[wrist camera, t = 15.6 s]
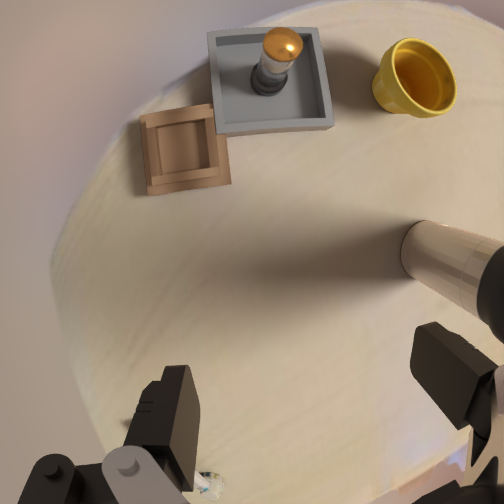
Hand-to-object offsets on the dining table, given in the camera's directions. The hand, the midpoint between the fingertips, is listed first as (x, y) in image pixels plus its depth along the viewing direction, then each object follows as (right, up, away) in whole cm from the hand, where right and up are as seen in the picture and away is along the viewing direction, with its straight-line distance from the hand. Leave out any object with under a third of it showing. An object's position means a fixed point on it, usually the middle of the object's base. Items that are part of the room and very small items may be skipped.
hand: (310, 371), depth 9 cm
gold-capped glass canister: (0, +26, +24) cm, 35 cm away
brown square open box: (-10, +17, +26) cm, 33 cm away
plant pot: (+18, +27, +26) cm, 42 cm away
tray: (0, +26, +25) cm, 36 cm away
